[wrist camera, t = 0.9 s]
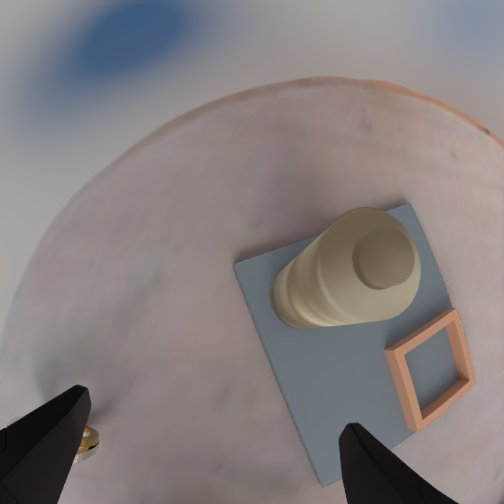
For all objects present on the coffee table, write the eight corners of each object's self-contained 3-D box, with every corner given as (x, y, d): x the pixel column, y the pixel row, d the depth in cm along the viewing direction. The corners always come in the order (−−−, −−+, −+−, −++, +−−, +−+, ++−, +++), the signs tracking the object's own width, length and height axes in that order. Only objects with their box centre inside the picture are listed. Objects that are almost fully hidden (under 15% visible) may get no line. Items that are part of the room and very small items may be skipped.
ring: (111, 415, 19) (71, 447, 12) (112, 450, 18) (76, 492, 11) (38, 395, 19) (-18, 410, 11) (39, 428, 18) (-13, 453, 10)
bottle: (342, 313, 23) (450, 288, 11) (284, 339, 22) (365, 341, 10) (318, 254, 24) (406, 185, 12) (259, 276, 23) (313, 214, 11)
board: (466, 383, 24) (482, 385, 21) (319, 482, 20) (329, 494, 17) (404, 206, 28) (418, 196, 25) (232, 266, 24) (235, 258, 21)
